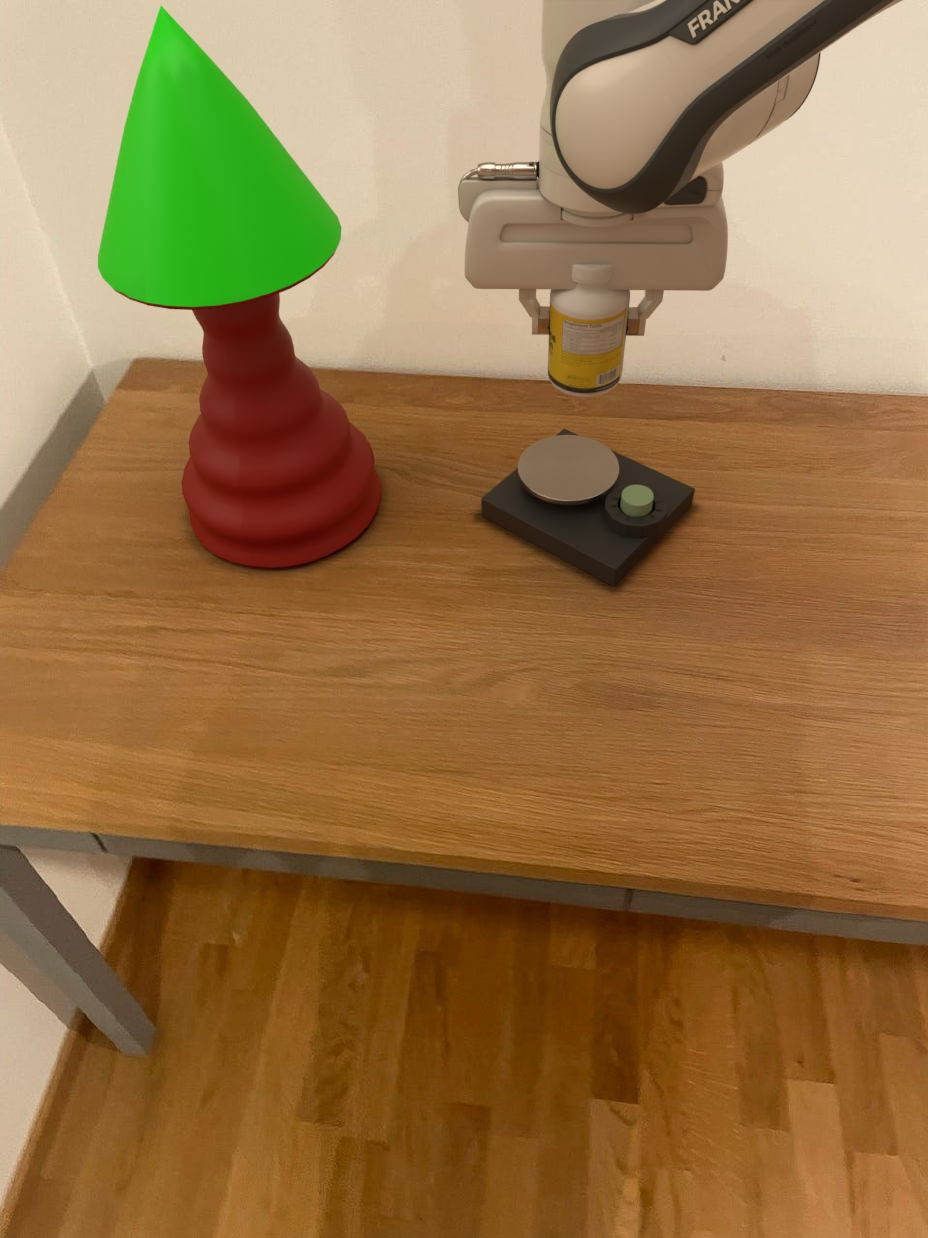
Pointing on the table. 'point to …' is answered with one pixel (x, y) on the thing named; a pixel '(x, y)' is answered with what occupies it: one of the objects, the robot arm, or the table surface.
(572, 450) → the scale pan
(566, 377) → the pill bottle
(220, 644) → the table surface
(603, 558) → the scale
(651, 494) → the button
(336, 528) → the table lamp
